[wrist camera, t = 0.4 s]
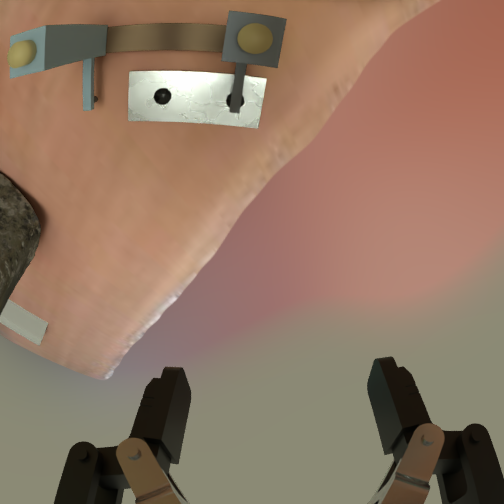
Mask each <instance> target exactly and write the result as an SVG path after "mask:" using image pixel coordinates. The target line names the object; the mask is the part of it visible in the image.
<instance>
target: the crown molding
mask: <svg viewBox="0 0 504 504" xmlns="http://www.w3.org/2000/svg"><path fill="white" fill-rule="evenodd" d="M0 323H2V324H4V325H5V326H7V327H8V328H10V329H11V330H13V331H15V332H16V333H18V334H20V335H21V336H23V337H25V338H26V339H28V340H30V341H32V342H33V343H35V344H37V345H39V346H40V343H41V341H42V338H43V336H44V333H45V330H46V328H47V325H48V323H47V322H45V321H44V320H42V319H40V318H38V317H37V316H35V315H33V314H32V313H30V312H28V311H27V310H25V309H24V308H22V307H20V306H19V305H17V304H16V303H14V302H12V301H11V300H9V299H8V301H7V303H6V305H5V307H4V309H3V311H2V313H1V315H0Z"/></svg>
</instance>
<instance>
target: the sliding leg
mask: <svg viewBox="0 0 504 504" xmlns="http://www.w3.org/2000/svg"><path fill="white" fill-rule="evenodd" d="M107 28H108V25H90V24H67V25H46V26H42V27H39V28H35V29H32V30H29V31H25V32H22V33H19V34H16V35H13V36H11V38H10V49H9V52H8V55H7V61H8V64H9V65H10V79H11V78H15V77H19V76H23V75H27V74H31V73H35V72H40V71H45V70H48V69H51V68H55V67H58V66H62V65H65V64H69V63H73V62H77V61H81V60H83V111H88V110H92V109H94V103H95V102H97V100H98V97H96V96H94V58H95V57H100V56H105V54H106V39H107Z"/></svg>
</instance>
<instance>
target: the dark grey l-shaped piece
mask: <svg viewBox="0 0 504 504" xmlns="http://www.w3.org/2000/svg"><path fill="white" fill-rule="evenodd" d="M285 25H286V19H285V18H279V17H274V16H267V15H261V14H254V13H246V12H237V11H229V14H228V20H227V26H226V25H213V24H192V23H160V24H138V25H125V26H115V27H108V28H107V39H106V53H112V52H124V51H143V50H193V51H212V52H223V53H222V60H221V61H226V62H236V68H235V75H234V82H233V89H232V96H231V104H230V113H238V114H239V113H240V106H241V99H242V93H243V86H244V79H245V73H246V67H247V64H253V65H261V66H267V67H274V68H278V62H279V57H280V52H281V46H282V41H283V35H284V30H285Z"/></svg>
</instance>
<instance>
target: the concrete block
mask: <svg viewBox="0 0 504 504" xmlns="http://www.w3.org/2000/svg"><path fill="white" fill-rule="evenodd" d="M40 231H41V227H40V223H39V220H38V217H37V216H36V214H35V212H34V209H33V208H32V207H31V205H30V204H29V202H28V201H27V200H26V198H25V197H24V196H23V195H22V194H21V193H20V191H19V190H18V189H17V188H16V187H15V186H14V185H13V184H12V183H11V181H10V180H8V179H7V178H6V177H5V176H4V175H3V174H1V173H0V315H1V313H2V311H3V309H4V307H5V305H6V303H7V301H8V299H9V297H10V295H11V294H12V292H13V290H14V288H15V286H16V284H17V283H18V281H19V280H20V278H21V277H22V275H23V274H24V272H25V270H26V268H27V267H28V266H29V264H30V262H31V260H32V259H33V258H34V256H35V251H36V249H37V247H38V243H39V238H40Z"/></svg>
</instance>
